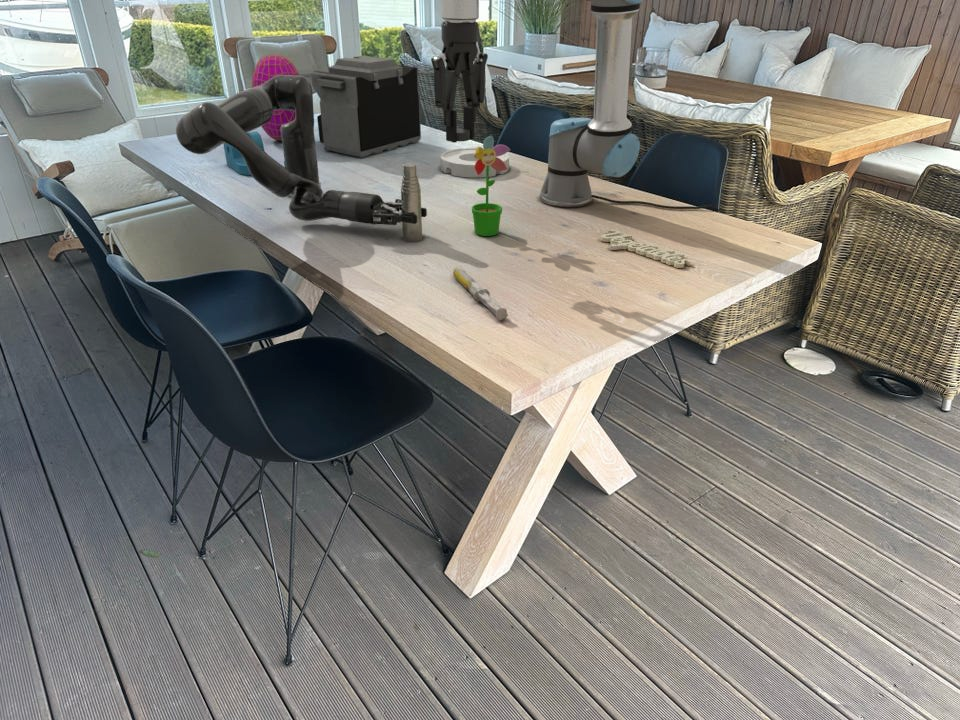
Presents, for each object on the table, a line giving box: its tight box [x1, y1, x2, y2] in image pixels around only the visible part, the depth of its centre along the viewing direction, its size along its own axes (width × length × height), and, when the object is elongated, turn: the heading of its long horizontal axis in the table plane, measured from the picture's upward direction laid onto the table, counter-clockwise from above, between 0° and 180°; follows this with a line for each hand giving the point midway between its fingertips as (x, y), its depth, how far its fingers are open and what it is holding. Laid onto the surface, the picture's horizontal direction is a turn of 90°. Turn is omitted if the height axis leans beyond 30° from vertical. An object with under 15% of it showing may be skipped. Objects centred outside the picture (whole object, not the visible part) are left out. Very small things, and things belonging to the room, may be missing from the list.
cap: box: [457, 128, 471, 142], centre depth 149 cm, size 4×4×2 cm
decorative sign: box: [600, 229, 691, 269], centre depth 168 cm, size 26×1×10 cm
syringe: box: [452, 266, 509, 321], centre depth 145 cm, size 25×4×3 cm, turn 21°
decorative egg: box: [251, 54, 301, 142], centre depth 257 cm, size 19×19×30 cm
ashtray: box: [439, 147, 510, 178], centre depth 231 cm, size 23×23×4 cm
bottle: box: [400, 162, 423, 242], centre depth 170 cm, size 5×5×19 cm
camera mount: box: [222, 131, 265, 176], centre depth 226 cm, size 18×10×10 cm, turn 35°
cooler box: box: [310, 55, 422, 159], centre depth 250 cm, size 37×22×30 cm, turn 144°
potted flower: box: [471, 135, 511, 237], centre depth 172 cm, size 9×8×25 cm
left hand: (421, 215), depth 171 cm, fingers closed on bottle, 5 cm apart
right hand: (460, 139), depth 150 cm, fingers closed on cap, 4 cm apart
